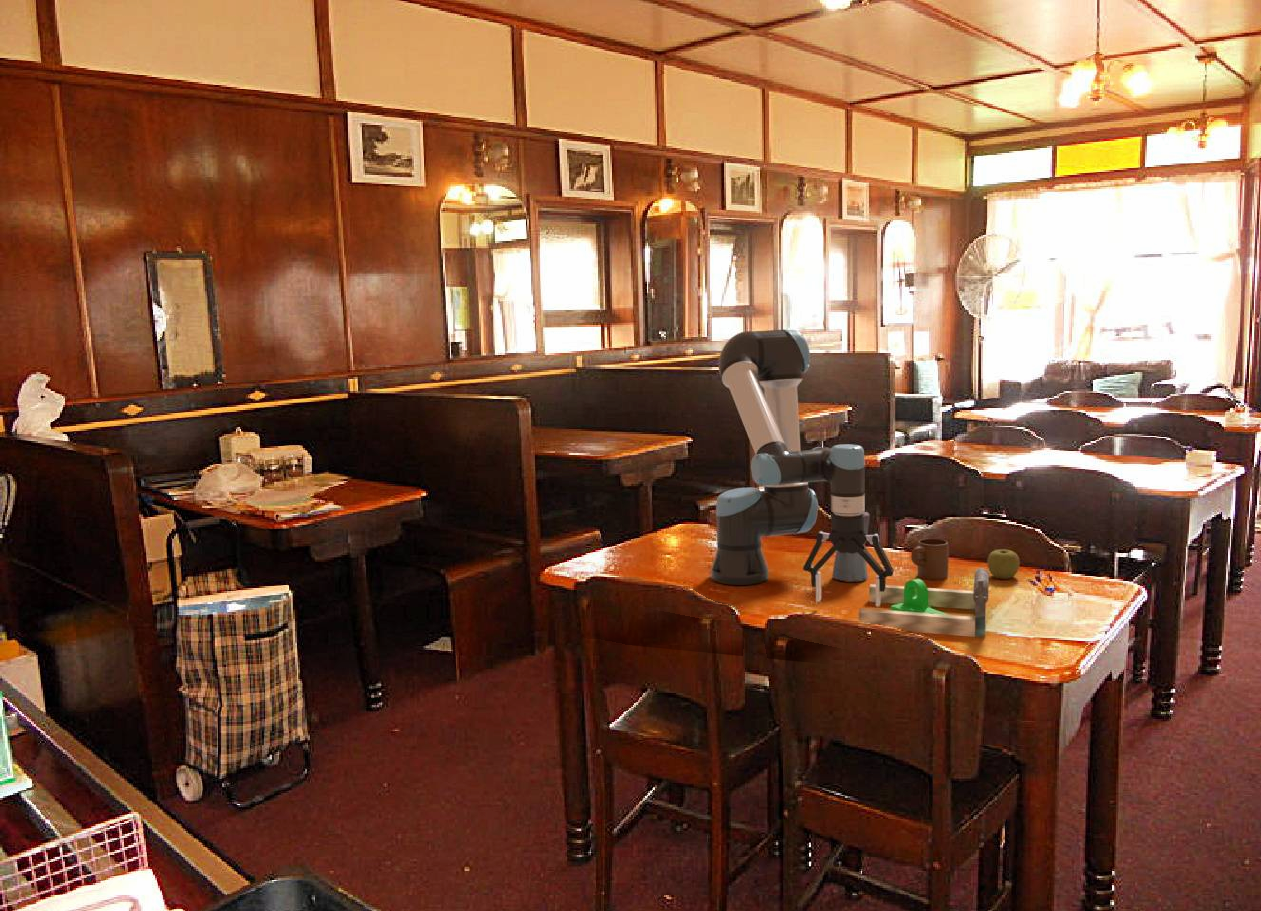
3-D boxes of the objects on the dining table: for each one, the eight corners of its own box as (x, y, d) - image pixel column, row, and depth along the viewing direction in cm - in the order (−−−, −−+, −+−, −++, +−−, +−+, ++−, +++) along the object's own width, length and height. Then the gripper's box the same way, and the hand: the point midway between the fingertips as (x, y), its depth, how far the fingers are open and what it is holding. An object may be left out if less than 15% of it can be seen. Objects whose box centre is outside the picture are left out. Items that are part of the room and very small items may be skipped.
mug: (924, 586, 234) (924, 550, 233) (900, 580, 240) (900, 544, 239) (954, 577, 241) (954, 541, 239) (929, 571, 247) (930, 536, 246)
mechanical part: (890, 614, 215) (891, 580, 214) (910, 609, 218) (910, 576, 216) (929, 628, 204) (930, 593, 203) (949, 623, 207) (950, 588, 206)
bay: (857, 630, 204) (857, 573, 202) (870, 599, 225) (870, 547, 223) (987, 641, 195) (988, 581, 193) (987, 608, 215) (989, 554, 213)
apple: (982, 579, 238) (982, 552, 237) (994, 572, 244) (995, 545, 243) (1012, 584, 233) (1012, 556, 232) (1024, 577, 239) (1024, 550, 238)
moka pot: (874, 572, 247) (874, 499, 244) (863, 589, 234) (863, 511, 231) (838, 569, 251) (838, 497, 248) (825, 585, 238) (824, 509, 235)
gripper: (790, 513, 214) (791, 603, 217) (902, 518, 205) (902, 611, 208) (796, 507, 221) (797, 593, 224) (905, 511, 212) (905, 601, 215)
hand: (848, 602), depth 216 cm, fingers open, 13 cm apart
